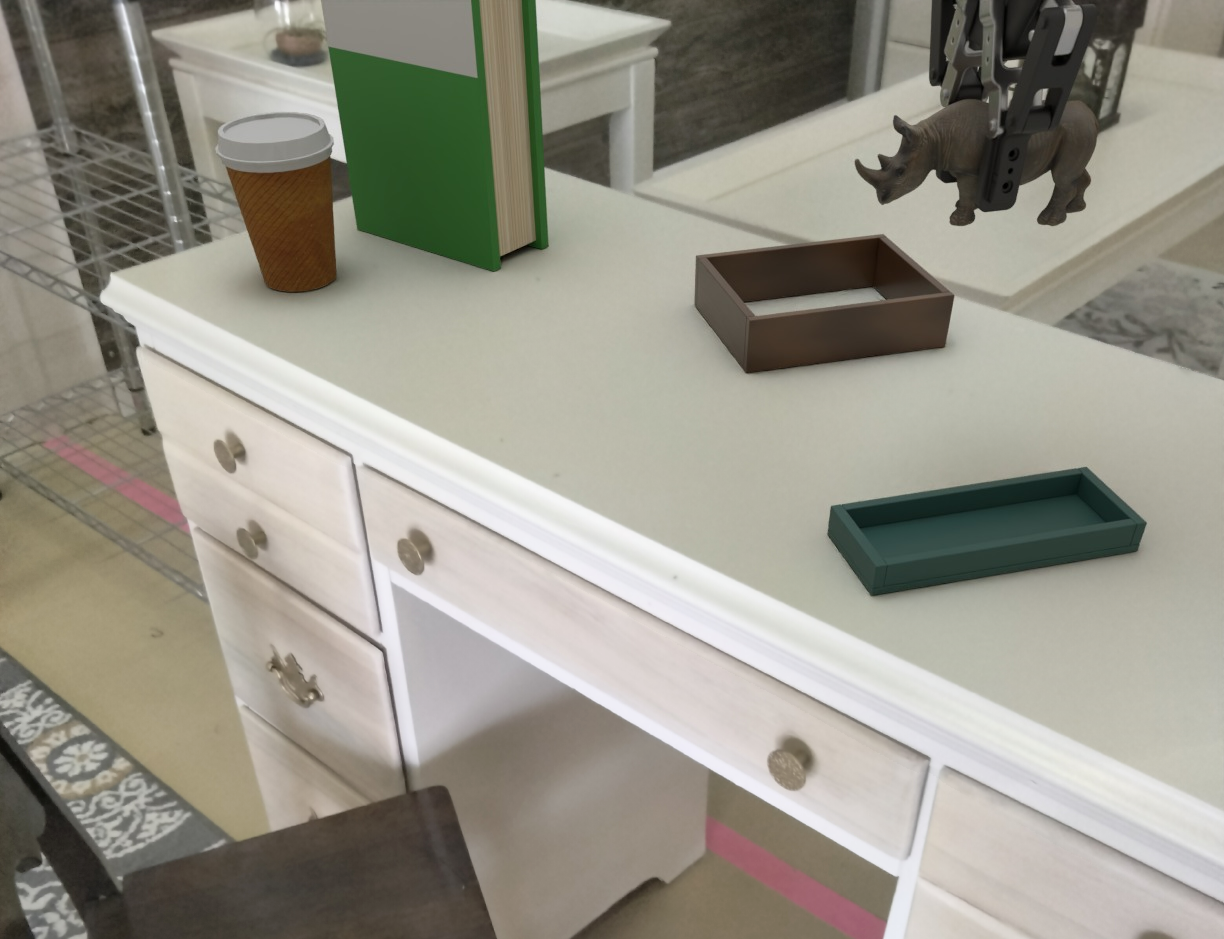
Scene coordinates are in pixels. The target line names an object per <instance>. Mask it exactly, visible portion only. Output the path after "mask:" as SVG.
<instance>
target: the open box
mask: <svg viewBox="0 0 1224 939" xmlns="http://www.w3.org/2000/svg"><path fill="white" fill-rule="evenodd" d="M694 270H695V272H694V274H695V275H694V300H693V301H694V304H693V305H694V306H695V308H696V309H697V310H698V312H699V313H700V314H701V315H702V317H703V318H704V319H705V321H706V322H707V323H708V325H709V326H710V328H711V329H712V330H713V331H714V332H715V335H717V337H718V338H719V339H720V340H721V342H722V343H723V344H724V346H725V347H726V348H727V350H728V351H729V352H730V353H731V355H732V356H733V357H734V359H735V361H736V362H737V363H738V364H739V365H740V367H741V369H743V371H744V372H745V373H747V374H748V373H756V372H763V371H770V370H778V369H785V368H786V369H787V368H795V367H801V366H810V365H815V364H823V363H832V362H839V361H847V360H854V359H863V358H868V356H870V357H876V356H875V355H877V356H884V355H883V354H885V355H890V354H889V353H893V354H898V353H897V352H899V353H907V352H915V351H922V350H929V349H936V348H937V349H938V348H944V347H946V346H947V339H948V334H949V328H950V323H951V317H952V312H953V308H954V307H953V306H954V301H955V294H954V293H953V292H952V291H950V290H949V289H948V288H947V287H946V286H944V285H943V284H942V283H941V282H940V281H939V280H938V279H937V278H935V277H934V276H933V275H932V274H930V272H928V271H927V270H926V269H925V268H924V267H922V266H921V265H920V264H919V263H918V262H916V261H915V260H914V259H913V257H912V256H911V257H910V255H909V254H907V253H906V252H905V251H904V250H903V249H902V248H900V247H899V246H898V245H897V244H895V243H894V241H893V240H891V239H890V238H889V237H887V235H885V234H884V233H879V234H871V235H862V236H853V237H846V238H845V237H843V238H835V239H827V240H818V241H810V242H801V243H792V244H784V245H775V246H767V247H758V248H750V249H739V250H731V251H723V252H714V253H705V254H697V255H695V269H694ZM870 287H873V288H874V289H875V290H876V291H877V292H878V293H880V294H881V296H883V297H884V298H885V299H882V300H875V301H874V300H873V301H866V302H858V303H849V304H842V305H835V306H834V305H833V306H825V307H818V308H809V309H801V310H794V311H793V310H792V311H786V312H785V311H784V312H777V313H769V314H762V315H761V314H760V315H755V314H754V313H753V311H752V310H751V309H750V308H749V306H748V305H747V304H746V303H747V302H755V301H764V300H772V299H779V298H787V297H788V298H789V297H796V296H803V295H813V294H821V293H822V294H823V293H831V292H837V291H844V290H845V291H847V290H852V289H853V290H854V289H861V288H870ZM881 354H882V355H881Z"/></svg>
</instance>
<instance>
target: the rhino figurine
mask: <svg viewBox="0 0 1224 939" xmlns="http://www.w3.org/2000/svg"><path fill="white" fill-rule="evenodd" d="M1045 100H1046V99H1042V105H1044V103H1045ZM988 106H989V102H988V101H986V102H984V101H981V100H976V99H966V100H961V101H958V102H956V103H953V104H951V105H948V106H946V107H943V108H942V109H939V110H938V111H937V112H935V113H933V114H931V115H930V116H928V117H927V118H924V119H922V120H920V121H918V122H917V123H915V124H909V123H908V122H907V121H905V120H904V119H902V118H901V117H899V116H898V115H897V114H894V115H893V119H892V125H893V129H894V130H895V132H897V133H898V134H899V135H901V141H900V145H899V148H898V151H897V152H896V153H895V154H894V155H893V156H887V155H884V154H881V153H878V154H877V159H878V162H879V164H880V167H881V168H880V169H876V168H875V169H874V168H870V167H866V166H864V164H863V163H862V162H861V161H860V159H859V158H855V160H854V167H855V170H856V172H857V174H858V176H860V178H862V179H863V180H864V181H865V182H866V183H868V184H869V185H870V186H872V187H873V188H874V189H875V193H876V198H877V202H878V203H879V204H880V205H881V206H884V205H886V204H891V203H892V202H894V201H896V200H898V199H901V198H902V197H904V196H906V195H908V194H910V193H911V192H914V191H915V190H916V189H918V188H919V187H920V186H921V185H922V184H923V183H924V182H925V180H926V179H927V177H928V176H929V174H930V172H932V171H935V172H936V171H941V170H944V171H949V172H950V174H951V175H952V176H953V177H956V178H957V182H956V187H957V190H958V200H957V201H956V202H955V204H954V207H955V210H953V211H952V213H951V214H950V215H949V224H950V225H951V226H953V227H954V226H955V227H966V226H969V225H971V224H973V223H974V222H975V221H976V212H975V211H976V210H979V209H978V208H977V207H976V206H975V204H974V197H975V192H976V186H977V181H978V175H979V170H980V164H981V158H982V153H983V147H984V142H985V136H987V135H988ZM1008 109H1009V108H1007V110H1008ZM1099 127H1100V126H1099V123H1098V120H1097V118H1096V116H1095V113H1094V112H1093V111H1092V110H1091V109H1090V107H1089V106H1087V105H1086V104H1085V103H1084V102H1083V101H1081V100H1067V103H1066V106H1065V109H1064V111H1063V114H1062V117H1061V119H1060V122H1059V125H1058V127H1057V128H1056V129H1055V130H1052V131H1043V132H1038V133H1036V134H1033V135H1032V136H1031V137H1030V139H1029V142H1028V146H1027V150H1026V155H1025V160H1024V165H1023V170H1022V175H1021V180H1020V185H1019V187H1020V186H1021V187H1022V186H1024V185H1027V184H1029V183H1031V182H1033V181H1035V180H1037V179H1039V178H1040V177H1042V176H1043V175H1045V174H1047V173H1049V172H1050V173H1051V178H1052V182H1053V183H1054V186H1053V190H1052V194H1051V197H1050V198H1049V201H1048V202H1047V205H1046V206H1045V207H1044V208H1043V209H1042V210H1041V211H1040V213H1039V214H1038V216H1037V218H1036V222H1037V224H1038V225H1041V226H1050V227H1056V226H1059V225H1061V224H1064V223H1065V222H1066V221H1067V217H1068V214H1073V213H1079V212H1083V211H1084V210H1085V209H1086V208H1087V202H1086V201H1085V193H1086V191H1087V188H1089V187H1090V186H1091V183H1092V177H1091V175H1090V174H1089V172H1088V170H1087V169H1086V168H1087V166H1088V164H1089V163H1090V160H1091V159H1092V157H1093V154H1094V152H1095V149H1096V147H1097V141H1098V136H1099Z"/></svg>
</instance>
